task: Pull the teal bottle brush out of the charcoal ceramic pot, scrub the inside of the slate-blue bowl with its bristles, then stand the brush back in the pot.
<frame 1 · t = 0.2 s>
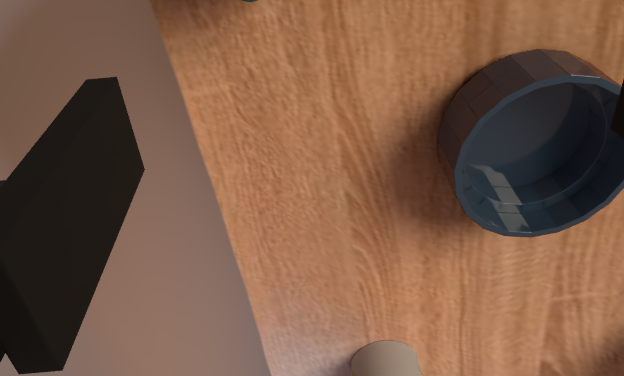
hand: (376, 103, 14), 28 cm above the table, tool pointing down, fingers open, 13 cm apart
beige cylinder: (383, 361, 63), on the table
bowl: (519, 129, 46), on the table
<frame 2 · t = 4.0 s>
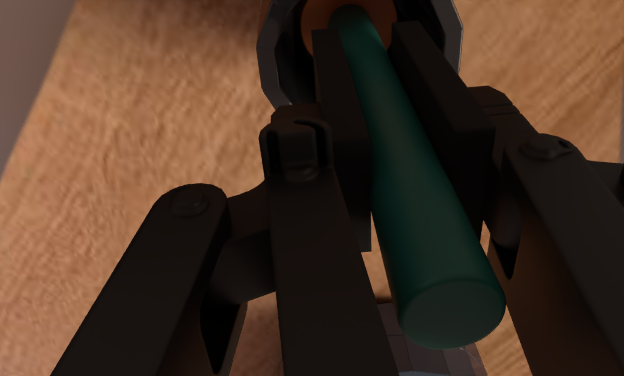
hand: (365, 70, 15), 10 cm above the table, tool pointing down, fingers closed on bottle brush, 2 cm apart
bowl: (376, 366, 39), on the table
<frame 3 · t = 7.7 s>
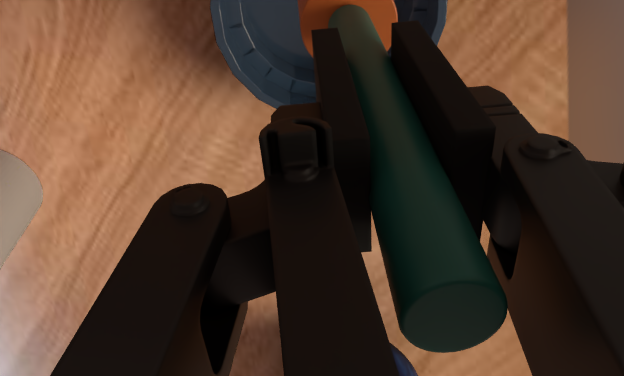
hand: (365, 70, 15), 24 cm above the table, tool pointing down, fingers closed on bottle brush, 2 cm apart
decorative sphere: (345, 345, 61), on the table
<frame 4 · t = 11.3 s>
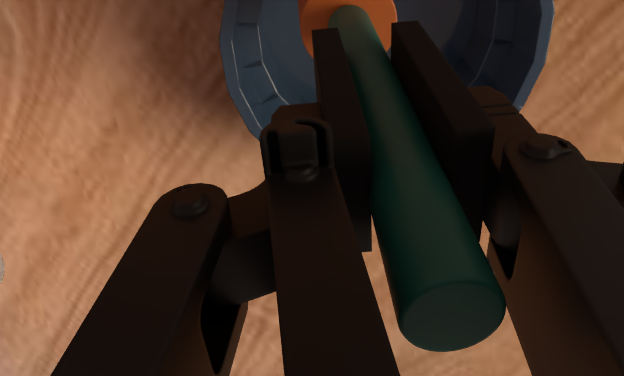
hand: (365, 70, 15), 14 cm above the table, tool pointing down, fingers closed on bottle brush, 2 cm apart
bowl: (368, 15, 28), on the table
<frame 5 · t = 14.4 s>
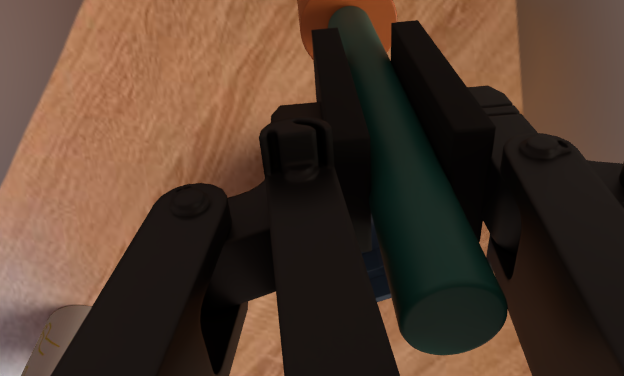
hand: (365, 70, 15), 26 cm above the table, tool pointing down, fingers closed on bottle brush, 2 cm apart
beige cylinder: (85, 329, 58), on the table
bowl: (347, 206, 50), on the table
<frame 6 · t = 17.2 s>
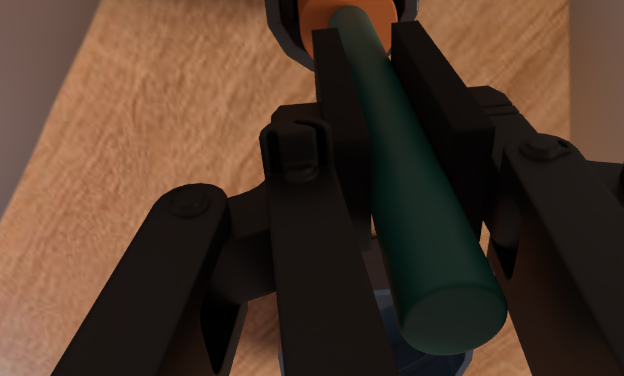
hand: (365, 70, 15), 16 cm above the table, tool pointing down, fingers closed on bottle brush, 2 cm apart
bowl: (366, 300, 44), on the table
when the fingers open (10 cm above the table, at t = 19.1 s): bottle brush stays where it is, resting on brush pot.
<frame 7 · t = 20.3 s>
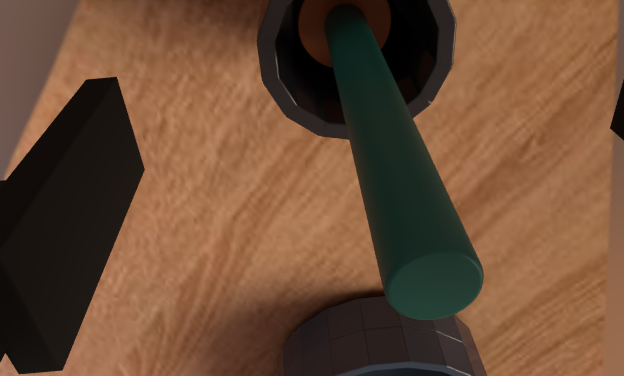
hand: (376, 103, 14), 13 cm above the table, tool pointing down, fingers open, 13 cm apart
bowl: (375, 359, 40), on the table
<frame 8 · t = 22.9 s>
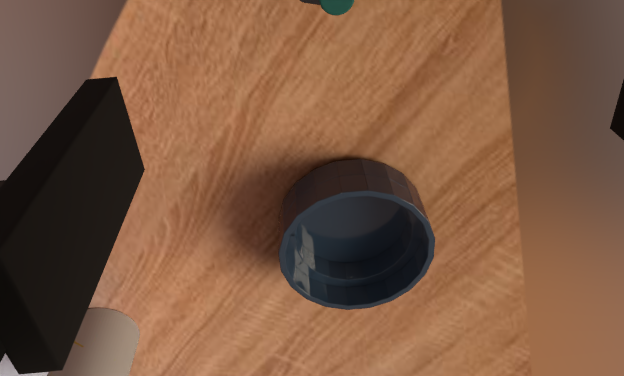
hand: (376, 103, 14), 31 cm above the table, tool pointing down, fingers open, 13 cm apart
beige cylinder: (105, 330, 62), on the table
bowl: (350, 217, 54), on the table
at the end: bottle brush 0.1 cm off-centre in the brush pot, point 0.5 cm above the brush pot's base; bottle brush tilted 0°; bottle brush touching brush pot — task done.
